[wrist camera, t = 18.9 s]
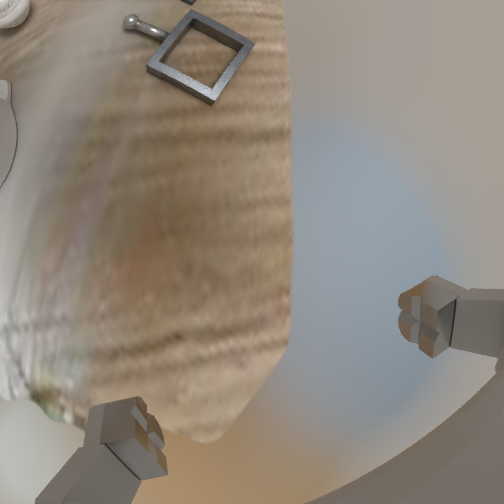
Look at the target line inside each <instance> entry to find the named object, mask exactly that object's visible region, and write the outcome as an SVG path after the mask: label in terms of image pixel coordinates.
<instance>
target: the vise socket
mask: <svg viewBox="0 0 504 504" xmlns="http://www.w3.org/2000/svg"><path fill="white" fill-rule="evenodd" d="M123 26H124V27H125V28H127V29H133V28H135V29H137V30H140V31H142V32H144V33H146V34H149V35H151V36H153V37H155V38H158V39H160V40H162V41H164V42H163V43H162V44H161V45H160V47H159V48H158V49H157V51H156V52H155V53H154V55H153V56H152V57H151V59H150V60H149V61H148V63H147V64H146V67H147V72H149V73H151V74H153V75H155V76H157V77H159V78H161V79H163V80H165V81H167V82H169V83H171V84H173V85H175V86H177V87H179V88H181V89H182V90H184V91H186V92H188V93H190V94H192V95H194V96H195V97H197V98H199V99H201V100H203V101H204V102H206V103H208V104H210V105H211V106H212V104H213V103H214V102H215V100H216V99H217V97H218V96H219V94H220V93H221V91H222V90H223V88H224V87H225V85H226V84H227V82H228V81H229V80H230V78H231V77H232V75H233V74H234V72H235V71H236V70H237V68H238V67H239V65H240V64H241V63H242V61H243V60H244V59H245V57H246V56H247V55H248V53H249V52H250V51H251V49H252V48H253V47H254V45H255V43H253V42H252V41H250V40H248V39H247V38H245V37H243V36H242V35H240V34H238V33H236V32H235V31H233V30H231V29H229V28H227V27H226V26H224V25H222V24H220V23H218V22H216V21H214V20H212V19H210V18H208V17H206V16H204V15H202V14H200V13H198V12H196V11H194V10H192V9H191V10H190V11H189V12H188V13H187V14H186V15H185V17H184V18H183V19H182V20H181V21H180V22H179V23H178V25H177V26H176V27H175V28H174V29H173V31H172V32H171V33H168V32H166V31H164V30H161V29H159V28H157V27H155V26H152V25H150V24H148V23H146V22H143V21H141V20H139V17H138V16H137V15H134V14H131V15H128V16H126V17H125V18H124V20H123ZM191 27H193V28H195V29H197V30H199V31H201V32H203V33H205V34H207V35H209V36H211V37H212V38H214V39H216V40H218V41H220V42H222V43H223V44H225V45H227V46H229V47H231V48H232V49H234V50H236V51H237V52H238V54H237V55H236V56H235V58H234V59H233V61H232V62H231V63H230V65H229V66H228V67H227V69H226V70H225V72H224V73H223V74H222V76H221V77H220V79H219V80H218V81H217V83H216V84H215V86H214V87H213V89H210V88H209V87H207V86H205V85H203V84H201V83H200V82H198V81H196V80H194V79H192V78H190V77H189V76H187V75H185V74H183V73H181V72H179V71H177V70H175V69H173V68H171V67H169V66H167V65H165V64H163V62H164V61H165V59H166V58H167V57H168V55H169V54H170V53H171V51H172V50H173V49H174V47H175V46H176V45H177V44H178V42H179V41H180V40H181V39H182V37H183V36H184V35H185V34H186V32H187V31H188V30H189V29H190V28H191Z"/></svg>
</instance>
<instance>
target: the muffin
mask: <svg viewBox="0 0 504 504" xmlns="http://www.w3.org/2000/svg"><path fill="white" fill-rule="evenodd" d="M30 2H31V1H30V0H0V28H12V27H16V26H18V25H20V24H22V22H24V21H25V19H26V18H27V16H28V13H29V8H30Z"/></svg>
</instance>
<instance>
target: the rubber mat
mask: <svg viewBox="0 0 504 504" xmlns="http://www.w3.org/2000/svg"><path fill="white" fill-rule="evenodd" d="M181 1H184V2H186V3H188V4H190V5H192V4H193V3H194V2H195V1H196V0H181Z"/></svg>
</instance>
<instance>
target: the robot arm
mask: <svg viewBox="0 0 504 504" xmlns="http://www.w3.org/2000/svg"><path fill="white" fill-rule="evenodd" d="M10 101H11V83H10V82H9V81H7V80H2V79H0V186H1V185H2V183H3V182H4V180H5V178H6V177H7V174H8V172H9V170H10V168H11V165H12V162H13V158H14V154H15V149H16V141H17V128H16V121H15V117H14V114H13V111H12V108H11V103H10ZM398 306H399V307H400V309H401V310H402V311H401V313H400V315H399V318H398V320H399V321H398V323H399V329H400V331H401V334H402V335H403V336H404V337H405V339H406V340H408V341H409V342H412V343H418V346H419V349H420V350H421V351H423V352H424V353H426V354H427V355H428V356H430V357H431V358H434V357H436V356H437V355H439V354H440V353H441V352H443V351H444V350H446V349H447V348H449V347H451V348H454V349H459V350H464V351H468V352H472V353H477V354H481V355H486V356H491V357H496V358H498V360H497V363H496V366H495V372H497V373H496V374H495V375H494V376H493V377H492V378H491V379H490V380H489V381H488V382H487V383H486V384H485V385H484V386H483V387H482V388H481V389H480V390H479V391H478V392H477V393H476V394H475V395H474V396H473V397H472V398H471V399H470V400H468V401H467V402H466V403H465V404H464V405H463V406H462V407H461V408H459V409H458V410H457V411H456V412H455V413H454V414H452V415H451V416H450V417H449V418H448V419H446V420H445V421H444V422H443V423H441V424H440V425H439V426H438V427H436V428H435V429H434V430H432V431H431V432H430V433H428V434H427V435H426V436H424V437H423V438H422V439H420V440H419V441H417V442H416V443H415V444H413V445H412V446H410V447H409V448H407V449H406V450H404V451H403V452H401V453H400V454H398V455H397V456H395V457H394V458H392V459H390V460H389V461H387V462H386V463H384V464H382V465H381V466H379V467H377V468H376V469H374V470H372V471H370V472H369V473H367V474H365V475H363V476H361V477H360V478H358V479H356V480H354V481H352V482H350V483H348V484H346V485H344V486H342V487H340V488H338V489H336V490H334V491H332V492H330V493H328V494H326V495H323V496H321V497H319V498H317V499H314V500H312V501H310V502H307V503H305V504H504V289H474V288H471V289H469V290H467V289H465V288H463V287H460V286H458V285H456V284H454V283H452V282H450V281H447V280H445V279H443V278H441V277H438V276H431V277H429V278H427V279H426V280H424V281H423V282H422V283H420V284H418V285H416V286H414V287H413V288H411V289H409V290H407V291H405V292H403V293H402V294H400V296H399V299H398ZM163 447H164V437H163V434H162V430H161V427H160V425H159V423H158V421H157V420H156V418H155V417H154V416H153V415H151V414H149V413H147V405H146V404H145V402H144V401H143V399H142V398H141V397H139V396H136V397H132V398H127V399H123V400H118V401H113V402H108V403H104V404H99V405H95V406H92V407H91V408H90V411H89V416H88V422H87V427H86V433H85V439H84V445H83V447H81V448H78V449H77V451H76V452H75V453H74V454H73V455H72V457H71V458H70V459H69V460H68V461H67V462H66V464H65V465H64V466H63V467H62V469H61V470H60V471H59V472H58V473H57V474H56V475H55V477H54V478H53V479H52V480H51V481H50V483H49V484H48V485H47V486H46V487H45V489H44V490H43V491H42V492H41V493H40V494H39V496H38V497H37V498H36V500H35V504H131V502H132V500H133V498H134V496H135V494H136V492H137V490H138V488H139V486H140V484H141V480H146V479H151V478H156V477H161V476H165V475H168V471H167V462H166V456H165V455H164V454H163V453H162V451H161V450H162V448H163Z"/></svg>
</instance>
